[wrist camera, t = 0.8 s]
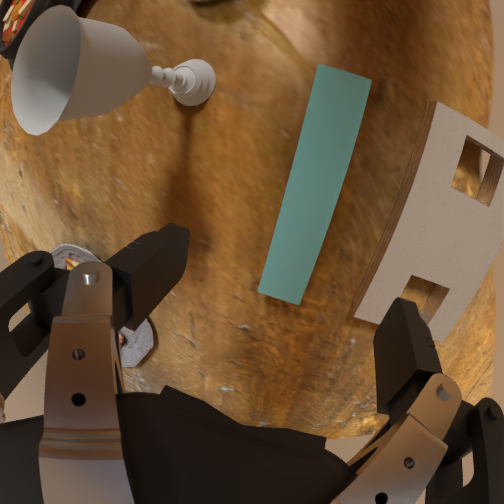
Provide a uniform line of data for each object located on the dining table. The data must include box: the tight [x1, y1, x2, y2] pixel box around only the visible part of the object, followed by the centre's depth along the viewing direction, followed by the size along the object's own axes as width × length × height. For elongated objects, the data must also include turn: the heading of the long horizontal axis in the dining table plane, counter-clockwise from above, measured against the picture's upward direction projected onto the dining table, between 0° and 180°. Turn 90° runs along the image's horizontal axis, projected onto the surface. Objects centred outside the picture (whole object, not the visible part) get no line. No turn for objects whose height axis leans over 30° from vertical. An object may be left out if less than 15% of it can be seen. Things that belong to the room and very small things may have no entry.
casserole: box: [0, 0, 82, 72], centre depth 18 cm, size 25×19×8 cm
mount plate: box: [353, 101, 504, 342], centre depth 23 cm, size 22×12×3 cm, turn 167°
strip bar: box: [258, 64, 372, 305], centre depth 24 cm, size 20×4×5 cm, turn 167°
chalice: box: [11, 5, 216, 135], centre depth 17 cm, size 7×7×18 cm
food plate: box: [51, 244, 154, 368], centre depth 42 cm, size 25×23×4 cm
